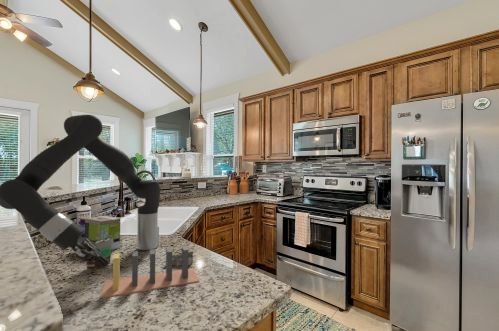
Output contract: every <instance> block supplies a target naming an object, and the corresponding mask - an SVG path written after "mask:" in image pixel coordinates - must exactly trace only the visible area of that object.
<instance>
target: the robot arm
mask: <svg viewBox="0 0 499 331" xmlns="http://www.w3.org/2000/svg"><path fill="white" fill-rule="evenodd" d="M63 129H64V132H65V133H66V134H67V135H66V136H65V137H64V138H63V139H62V138H61V140H59V141H58V142H56V143H54V144H53V145H50V146H49V147H47V148H46V149H44V150H42V151H40V152H39V153H38V154H37V155H36V156H34V157H33V159H31V160H30V161H29V162H28V163H27V164H26V165H25V166H24V167H23V168H22V169H21V171H20V173H18V175H17V176H16V177H15V178H14V179H8V180H5V181H4V182H2V183H1V184H0V207H2V208H4V209H6V210H15V211H17V212H18V213H19V214H21V215H22V217H23V219H24V221H25V222H26V223H28V224H29V225H30V226H32V227H33V228H34V229H36V230H37V231H38V232H39V233H41V235H43V237H45V238H46V239H47V240H49V241H50V242H51V243H53V244H54V245H55V246H57V247H58V248H59V249H61V250H62V251H66V249H67V248H69V247H70V248H71V250H72V251H73V253H75V254H76V255H75V258H76V259H78V260H82V261H87V262H90V263H91V262H92V261H93V262H94V261H95V262H96V263H97V264H99V265H100V266H101V267H100V268H103V269H105V268H107V266H109V265H110V263H109V260H107V259H106V258H105V257H104V256H102V255H101V253H100V249H99V248H98V247H97V246H96V244H95V243H94V242H93V240H91V239H90V240H88V239H87V238H86V239H85V238H84V237H82V236H81V235H82V234H83V233H84V229H82V228H81V227H80V225H79V224H77V223H76V222H75V221H73V220H72V219H71V218H70V217H68V216H67V215H65V214H63V213H62V212H60V210H58V209H57V208H55V207H54V206H53V205H51V204H49V203H48V202H47V201H46V200H45V199H44V197H43V196H42V195H41V194H40V193H39V192H38V190H39V189H40V188H41V187H42V186H43V185H44V184H45V183H46V182H47V181H49V179H51V177H52V176H53V175H54V174H55V173H57V171H59V169H60V168H61V167H62V166H63V165H64V164H65V163H66V162H68V160H70V159H71V158H72V157H73V156H75V154H77V153H78V152H79V151H81V150H82V149H83V148H84V149H85V150H87V151H88V152H89V153H90V154H92V155H93V157H94V158H96V159H97V160H98V161H99V162H100V163H101V164H103V165H104V166H105V167H106V168H107V169H108V170H109V172H111V173H112V174H114V175H115V176H116V177H117V178H118V179H120V181H121V182H122V183H124V184H125V185H126V186H127V188H128V189H129V190H130V191H131V192H132V194H134V195H135V196H136V197H137V198H139V199H141V200H144V201H145V202H144V204H143V205H141V206H139V207H137V237H136V238H137V246H136V247H137V251H138V250H139V251H150V250H153V249H155V250H156V248H157V247H158V246H160V245H159V244H160V227H159V226H158V224H159V222H158V218H159V216H158V215H159V214H158V213H159V207H160V199H161V198H160V196H161V187H160V183H159V182H158V181H157V180H150V179H149V180H146V179H143V178H141V177H140V176H139V175H138V174H137V173H136V172H135V164H134V162H133V161H132V159H131V158H130V157H129V156H128V155H127V154H126V153H125V152H124V151H123V150H121V149H120V148H118V147H116V146H115V145H112V144H111V143H109V142H107V141H105V140H103V139H102V138H101V137H100V136H101V135H102V133H103V123H102V121H101V119H100V118H99V117H97V116H96V115H94V114H93V115H92V114H80V115H78V114H77V115H71V116H69V117H67V118H66V119H65V120H64V121H63ZM87 262H86V263H87Z"/></svg>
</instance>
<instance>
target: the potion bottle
mask: <svg viewBox="0 0 499 331" xmlns="http://www.w3.org/2000/svg"><path fill="white" fill-rule="evenodd" d="M85 219H86V218H80V219H79V221H78V224H77V225H79V226H80V227H81V228H82V229H84V233H83V234H82V235H81V236H82V237H84V238H85Z"/></svg>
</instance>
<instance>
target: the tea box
mask: <svg viewBox="0 0 499 331" xmlns="http://www.w3.org/2000/svg"><path fill="white" fill-rule="evenodd" d="M107 236H110V237H112V239H113V241H114V243H113V244H112V248H111V251H112V250H116V249H117V250H118V249H120V248H121V218H119V217H114V216H110V215H100V216H94V217H86V218H85V239H86V238H87V239H88V240H90V239H91V240H93V242H96V241H99V240H104V239H106V238H107Z"/></svg>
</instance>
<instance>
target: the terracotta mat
mask: <svg viewBox="0 0 499 331" xmlns="http://www.w3.org/2000/svg"><path fill="white" fill-rule="evenodd" d="M199 282H200V279H199V278H198V275H197V273H196V271H195V269H194V267H191V268H189V267H188V278H185V279H183V276H182V269H178V270H177V269H176V270H172V281H167V278H166V271H164V272H155V283H154V284H150V273H148V274H143V275H138V284H137V286H136V287H132V276H130V277H123V278H122V277H120V284H119V289H117V290H113V279H109V280H108V279H107V280H105V281H104V284H103V287H102V290H101V292H100V296H99V299H106V298H110V297H111V298H112V297H116V296H122V295H129V294H134V293H142V292H147V291H152V290H159V289H164V288H170V287H177V286H183V285H188V284H194V283H199Z"/></svg>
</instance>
